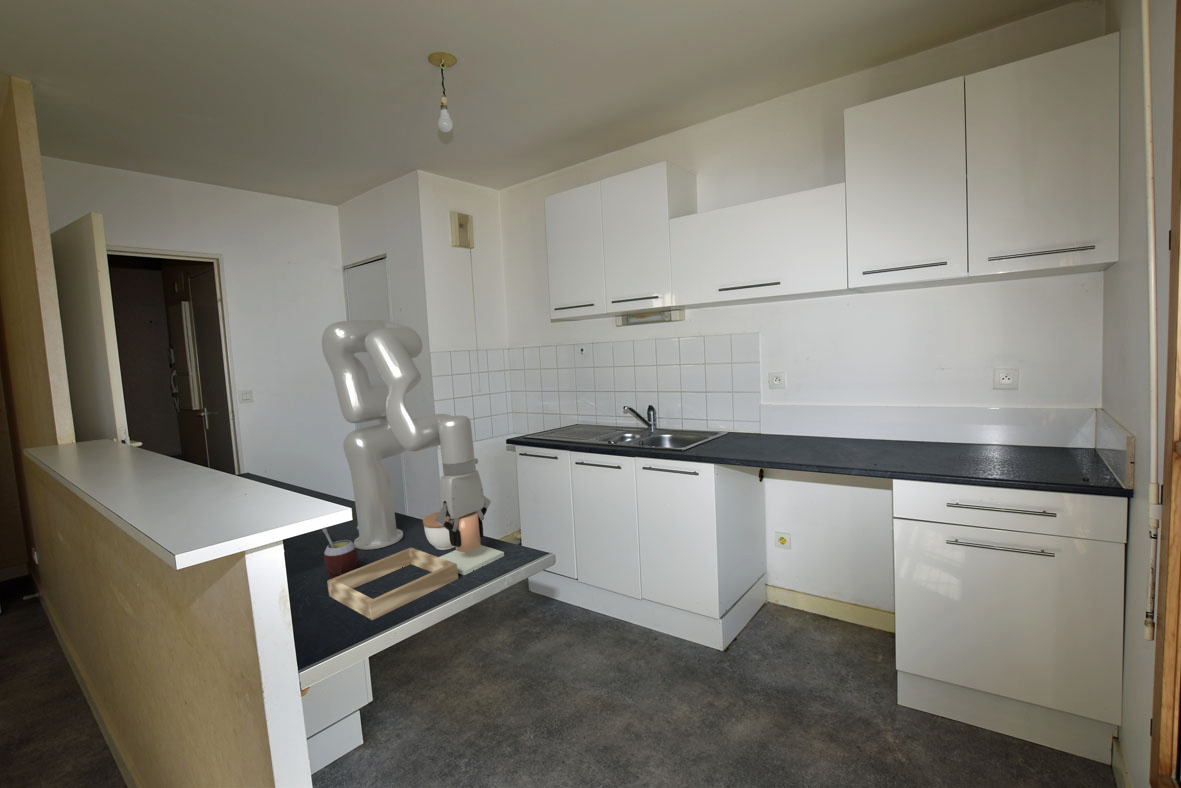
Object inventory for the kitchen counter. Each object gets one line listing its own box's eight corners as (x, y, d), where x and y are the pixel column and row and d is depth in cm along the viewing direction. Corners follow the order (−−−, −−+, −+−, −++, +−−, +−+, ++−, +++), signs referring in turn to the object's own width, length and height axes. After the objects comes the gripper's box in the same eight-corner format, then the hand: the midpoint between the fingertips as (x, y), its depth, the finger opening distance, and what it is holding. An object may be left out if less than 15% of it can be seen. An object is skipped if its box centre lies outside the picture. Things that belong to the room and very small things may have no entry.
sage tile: (433, 563, 129) (433, 559, 129) (473, 546, 139) (472, 542, 138) (464, 575, 122) (463, 571, 122) (504, 555, 131) (503, 552, 131)
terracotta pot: (450, 548, 129) (446, 516, 128) (470, 540, 134) (467, 508, 133) (466, 553, 125) (462, 520, 125) (486, 544, 130) (482, 512, 129)
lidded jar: (457, 553, 134) (453, 517, 133) (418, 553, 137) (414, 517, 136) (474, 537, 145) (471, 503, 144) (438, 537, 147) (434, 504, 146)
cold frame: (329, 596, 116) (327, 580, 116) (412, 561, 132) (410, 547, 132) (372, 620, 105) (370, 603, 104) (458, 578, 120) (456, 563, 120)
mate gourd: (360, 567, 130) (353, 508, 129) (358, 580, 123) (350, 517, 121) (326, 574, 128) (318, 513, 126) (322, 588, 121) (313, 524, 119)
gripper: (478, 458, 136) (485, 526, 138) (418, 475, 123) (427, 550, 125) (497, 461, 132) (504, 531, 134) (437, 479, 119) (446, 557, 121)
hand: (467, 540), depth 129 cm, fingers closed on terracotta pot, 6 cm apart
